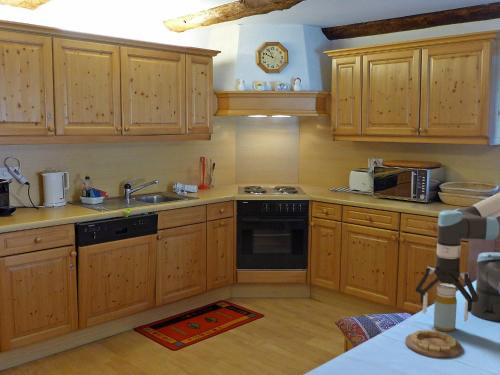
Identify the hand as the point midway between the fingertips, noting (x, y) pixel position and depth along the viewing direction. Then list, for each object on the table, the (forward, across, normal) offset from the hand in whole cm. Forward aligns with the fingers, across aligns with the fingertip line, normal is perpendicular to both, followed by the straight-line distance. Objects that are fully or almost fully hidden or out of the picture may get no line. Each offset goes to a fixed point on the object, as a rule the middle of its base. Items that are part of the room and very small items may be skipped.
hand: (444, 316), depth 182 cm
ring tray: (+4, 0, -17) cm, 18 cm away
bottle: (+4, 0, 0) cm, 4 cm away
